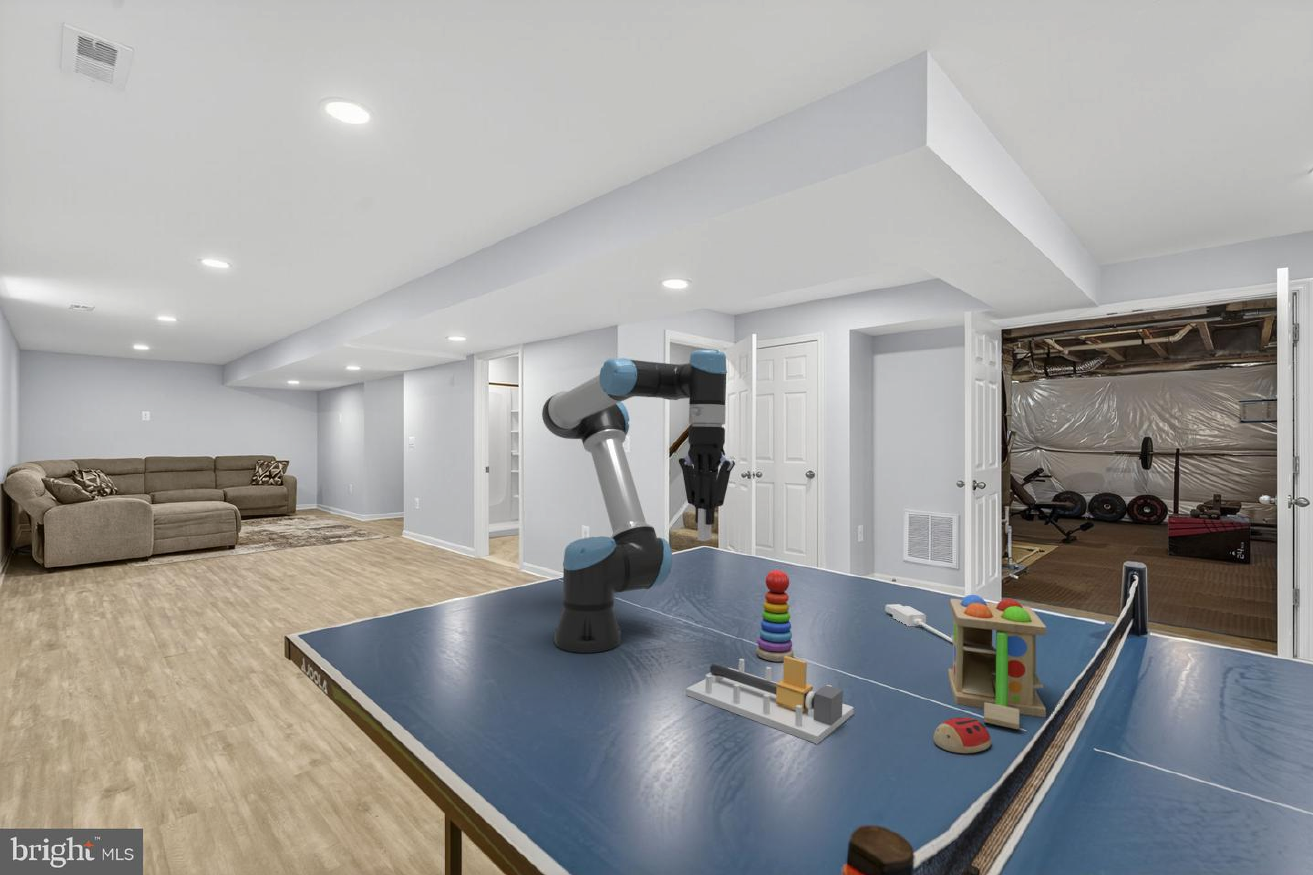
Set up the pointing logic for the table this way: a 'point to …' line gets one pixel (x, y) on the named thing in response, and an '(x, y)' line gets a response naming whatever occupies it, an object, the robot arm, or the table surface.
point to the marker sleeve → (793, 684)
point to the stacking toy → (775, 620)
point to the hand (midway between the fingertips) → (704, 539)
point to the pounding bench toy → (996, 659)
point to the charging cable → (911, 617)
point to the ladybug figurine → (962, 735)
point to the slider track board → (772, 702)
